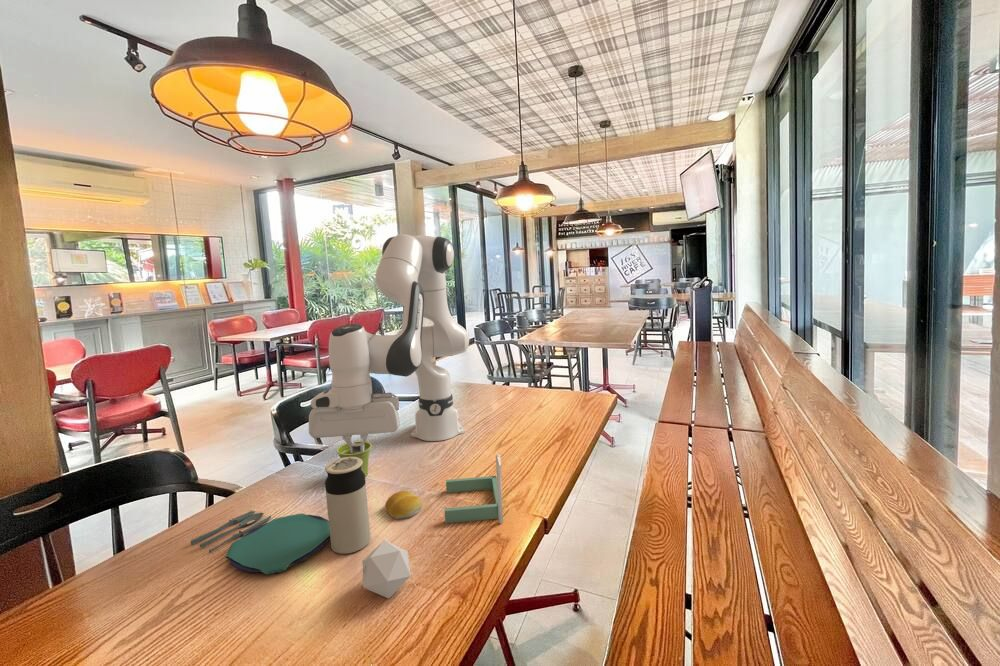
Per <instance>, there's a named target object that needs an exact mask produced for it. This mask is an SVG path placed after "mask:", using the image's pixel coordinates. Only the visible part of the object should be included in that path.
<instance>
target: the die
mask: <svg viewBox="0 0 1000 666" xmlns="http://www.w3.org/2000/svg"><path fill="white" fill-rule="evenodd" d="M361 562H362V582H363V583H362V586H363V587H362V588H364V589H366V590H369V591H371V592H373V593H375V594H377V595H379V596H381V597H384V598H386V599H388V600H389V599H391V597H392V596H393V595H394V594H396V592H397V591H398V590H399V589H400V588H401V587H402V586H403V585H404V584H405V583H406V582H407V581H408V580H409V579H410V577H412V574H411V569H410V568H411V567H410V560H409V551H408V550H405V549H404V548H402V547H399V546H397V545H395V544H393V543H391V542H389V541H387V540H385V539H384V540H383V541H381V542H380V543H379V544H378V545H377V547H375V548H374V549H373V550H372V551H371V552H370V553H369V554H368V555H367V556H365V558H364V559H363V560H362V561H361Z"/></svg>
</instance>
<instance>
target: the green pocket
mask: <svg viewBox="0 0 1000 666" xmlns="http://www.w3.org/2000/svg"><path fill="white" fill-rule="evenodd" d="M501 461H502V460H501V455H500V454H496V455H495V467H496V468H495V470H496V471H495V472H496V475H491V476H490V475H489V476H477V477H475V476H474V477H466V478H464V477H463V478H454V479H452V478H451V479H445V491H446V493H447V494H449V493H460V492H473V491H474V492H475V491H484V490H492V494H493V499H494V500H493V501H494V503H490V504H489V503H488V504H478V505H468V506H457V507H447V508H444V523H445V524H452V523H453V524H455V523H463V522H475V521H485V520H486V521H487V520H495V519H496V520H498V524H500V525H502V524H504V514H503V509H504V508H503V493H502V492H503V490H502V488H503V487H502V479H503V477H502V476H503V475H502V462H501Z"/></svg>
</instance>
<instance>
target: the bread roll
mask: <svg viewBox="0 0 1000 666" xmlns="http://www.w3.org/2000/svg"><path fill="white" fill-rule="evenodd" d="M422 507H423V502H422V499H421V498H420V497H419V496H416V494H414V493H412V492H410V491H409V490H400V491H397V492H395V493H393V494H392V495H391V496H390V497H388V499H387V500H386V502H385V504H384V509H385V511H386V513H388V514H389V515H390V516H391V517H392V518H394V519H395V520H396V519H397V520H398V519H399V520H400V519H408V518H411V517H412V518H413V517H414V516H416V515H418V513H419V512H420V511H421V510H422Z"/></svg>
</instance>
